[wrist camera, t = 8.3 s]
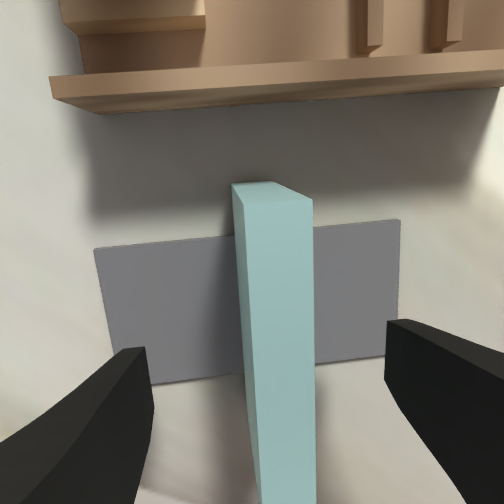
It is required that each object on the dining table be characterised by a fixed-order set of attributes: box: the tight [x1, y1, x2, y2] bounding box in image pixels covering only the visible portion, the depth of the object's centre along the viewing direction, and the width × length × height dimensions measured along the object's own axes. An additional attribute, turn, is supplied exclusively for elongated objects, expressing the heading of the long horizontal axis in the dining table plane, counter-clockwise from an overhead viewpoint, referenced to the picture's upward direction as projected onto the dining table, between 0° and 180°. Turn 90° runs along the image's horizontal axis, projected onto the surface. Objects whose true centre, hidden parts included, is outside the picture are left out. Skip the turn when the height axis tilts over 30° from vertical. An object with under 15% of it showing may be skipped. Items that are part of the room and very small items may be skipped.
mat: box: [93, 219, 401, 384], centre depth 15 cm, size 12×6×1 cm, turn 95°
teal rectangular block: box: [231, 181, 316, 504], centre depth 12 cm, size 2×10×6 cm, turn 4°
